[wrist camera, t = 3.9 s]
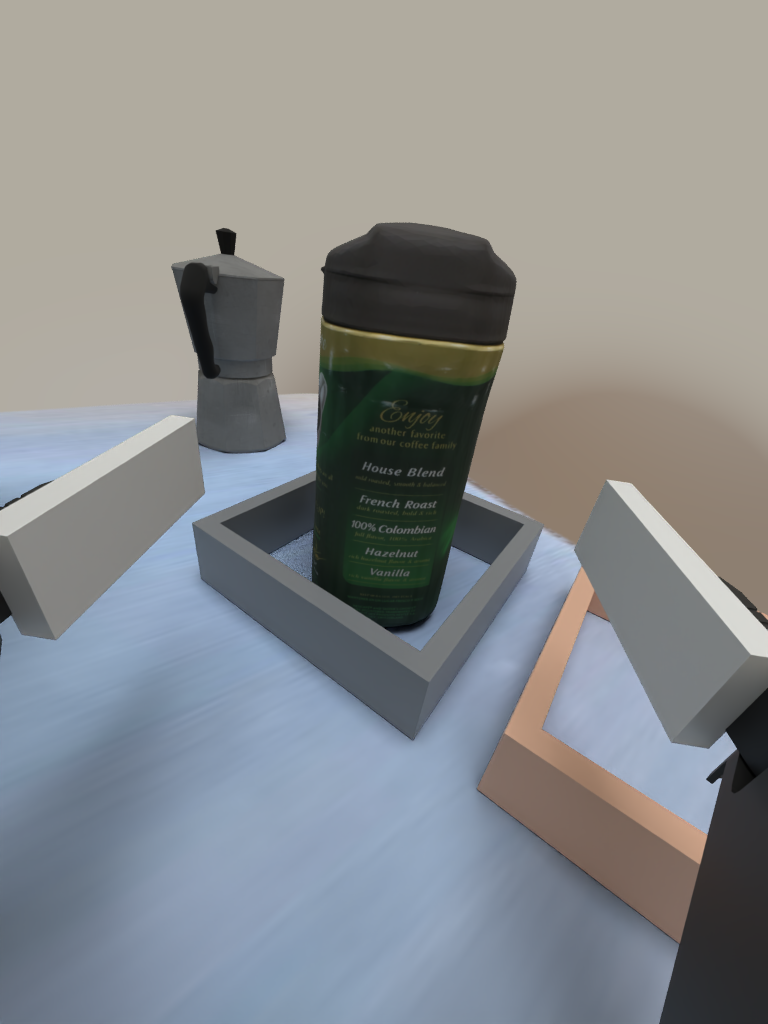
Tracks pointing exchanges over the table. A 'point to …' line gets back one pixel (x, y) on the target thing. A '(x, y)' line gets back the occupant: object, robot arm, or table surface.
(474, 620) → the charcoal bin
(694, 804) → the table surface
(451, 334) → the coffee jar
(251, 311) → the coffeepot
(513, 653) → the table surface
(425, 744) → the table surface
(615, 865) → the terracotta bin
